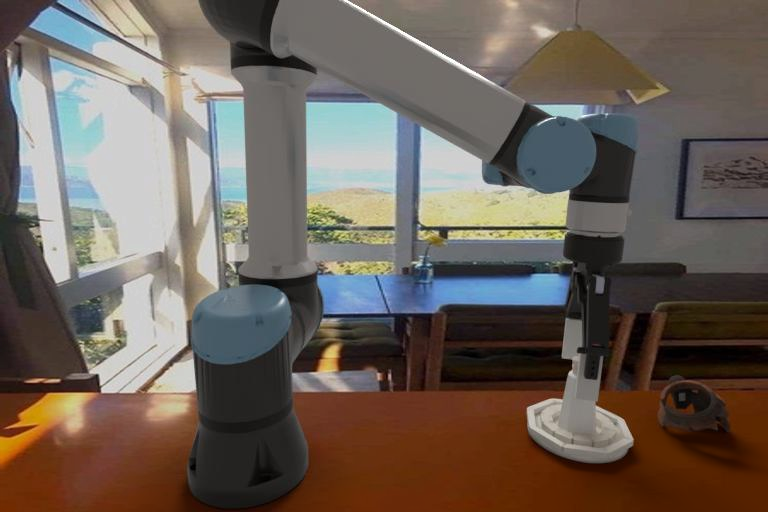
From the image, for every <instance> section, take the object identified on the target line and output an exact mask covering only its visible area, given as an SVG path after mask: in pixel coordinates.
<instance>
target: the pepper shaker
mask: <svg viewBox="0 0 768 512" xmlns="http://www.w3.org/2000/svg"><path fill="white" fill-rule="evenodd" d="M571 360H572V363H571V364H572V365H571V366H572V369H571V370H570V371H569V372H568V374H567V377H566V382H565V387H564V392H563V396H562V399H563V401H562V406H561V411H560V416H559V421H558V426H559V427H560V428H561V429H563V430H566V431H568V432H571V433H574V434H580V435H594V434H595V430H596V406H597V405H596V402H597V401H589V400H582V399H576V398H575V389H576V381H577V372H578V364H579V356H574V357H573V358H572V359H571Z"/></svg>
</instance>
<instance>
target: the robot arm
mask: <svg viewBox="0 0 768 512" xmlns="http://www.w3.org/2000/svg"><path fill="white" fill-rule="evenodd" d="M198 4H199V7H200V10H201V12H202V14H203V16H204V17H205V19H206V20H207V22H208V24H209V25H210V27H212V28H213V30H214V31H215V32H216V33H217V35H220V36H221V37H222V38H223V39H225V40H226V41H228V42H229V50H230V51H229V53H230V57H229V59H230V60H229V61H230V73H231V74H230V75H232V77H233V78H234V79H235V80H236V81H237V82H238V83H239V84H240V85H241V87H242V90H243V91H242V92H243V93H242V96H243V120H244V121H243V123H244V124H243V125H244V150H245V151H244V153H245V155H244V156H245V181H246V182H245V183H246V184H245V185H246V189H245V190H246V213H247V214H246V215H247V217H246V218H247V241H248V242H247V245H248V247H247V248H248V256H247V258H246V260H245V261H244V262H243V263H242V264H240V266H239V267H238V269H237V271H238V272H237V274H238V285H236V286H235V285H234V286H231V287H228V288H227V289H225V290H224V289H221V290H217V291H214V292H212V293H210V294H209V295H207V296H206V297H204V298H203V299H202V300H201V301H199V302H198V303H197V304H196V306H195V307H194V309H193V311H192V315H191V331H190V344H191V345H190V346H191V347H192V348H191V349H192V358H193V370H194V379H195V381H194V382H195V393H196V403H197V417H198V423H197V428H196V431H195V435H194V439H193V443H192V445H191V446H192V447H191V449H190V452H189V453H190V454H189V457H188V461H187V465H186V466H187V471H186V472H187V482H188V483H187V484H188V489H189V490H190V493H191V494H192V495H193V497H194V498H195V499H197V500H198V501H200V502H201V503H204V504H206V505H208V506H211V507H215V508H217V509H218V508H220V509H229V510H230V509H232V510H233V509H236V510H237V509H247V508H253V507H257V506H260V505H264V504H267V503H269V502H272V501H275V500H276V499H279V498H281V497H283V496H284V495H286V494H288V493H289V492H291V490H293V489H294V488H295V487H296V486H297V485H299V483H300V482H301V481H302V480H303V479H304V477H305V475H306V473H307V471H308V468H309V445H308V441H307V439H306V437H305V435H304V431H303V429H302V427H301V425H300V421H299V420H298V416H297V414H296V411H295V409H294V396H293V395H294V394H293V393H294V392H293V391H294V390H293V363H294V362H295V361H296V359H297V358H298V357H299V355H300V353H301V352H302V350H303V349H304V348H305V347H306V346H307V344H308V343H309V341H310V340H311V339H312V338H313V337H314V336H315V335H316V333H317V332H318V331H319V328H320V327H321V323H322V321H323V318H324V313H325V299H324V294H323V291H322V290H321V287H320V286H319V284H318V266H317V265H316V264H315V262H313V260H312V259H310V258H309V256H308V189H307V188H308V187H307V186H308V183H307V182H308V181H307V180H308V179H307V177H308V174H307V173H308V172H307V171H308V168H307V165H308V163H307V160H308V159H307V158H308V157H307V156H308V155H307V154H308V153H307V91H308V89H310V87H311V86H312V85H313V84H314V83H315V81H317V79H318V71H321V72H323V73H324V74H327V76H328V75H329V76H330V77H332V78H333V79H335V80H337V81H339V82H341V83H343V84H344V85H346V86H348V87H350V88H352V90H353V89H354V90H355V91H357V92H359V93H361V94H362V95H364V96H366V97H368V98H369V99H371V100H374V101H375V102H377V103H378V104H380V105H381V106H384V107H386V108H388V109H389V110H391V111H393V112H395V113H396V114H398V115H400V116H402V117H404V118H405V119H407V120H409V121H411V122H413V123H415V124H416V125H418V126H419V127H421V128H424V129H425V130H427V131H429V132H431V133H433V134H435V135H436V136H437V137H440V138H442V139H443V140H445V141H447V142H449V143H450V144H452V145H454V146H456V147H458V148H459V149H461V150H463V151H465V152H466V153H469V154H470V155H472V156H474V157H476V158H477V159H480V160H481V177H482V180H483V182H484V183H485V184H486V185H496V186H501V187H505V188H506V187H509V186H510V187H522V188H523V187H524V188H527V189H533V190H535V192H536V191H537V193H541V194H546V195H551V194H552V195H553V194H556V193H563V192H567V191H569V193H568V199H567V206H566V207H567V208H566V217H565V225H564V226H565V227H566V228H567V229H569V231H566V233H564V239H563V240H564V241H563V249H562V251H563V252H562V255H563V257H564V259H566V260H568V261H569V262H570V261H571V262H572V267H571V268H572V269H571V273H570V274H571V275H570V279H569V283H568V289H567V293H566V299H565V302H564V303H565V304H564V310H565V316H566V318H565V321H564V322H565V324H564V333H563V343H562V350H561V359H566V360H572V358H573V357H574V356H579V364H578V372H577V381H576V389H575V398H576V399H582V400H589V401H595V402H598V400H599V394H600V392H599V391H600V386H601V385H600V384H601V378H602V370H603V362H604V357H606V358H608V357H609V355H610V354H611V353H610V351H611V350H610V293H611V285H612V278H611V277H609V276H608V277H607V276H605V268H606V266H614V265H618V264H620V263H621V262H622V261H623V255H624V248H625V247H624V246H625V238H624V236H622V235H620V234H623V232H625V231H626V227H627V222H628V221H627V220H628V219H627V218H628V217H632V216H633V215H632V214H633V210H632V209H630V208H629V204H630V203H629V202H630V200H631V199H630V195H631V189H632V182H633V176H634V169H635V164H636V163H635V162H636V156H637V154H638V142H639V141H638V137H639V131H638V130H639V123H638V120H637V118H635V117H634V116H633V115H631V114H626V113H625V114H623V113H591V114H585V115H584V114H583V115H581V116H579V117H578V118H577V119H575V118H571V117H567V116H561V115H555V116H554V115H552V114H550V113H548V112H546V111H544V110H543V109H541V108H539V107H537V106H536V105H534V104H531V103H529V102H528V101H526V100H525V99H523V98H521V97H519V96H518V95H516V94H514V93H512V92H511V91H509V90H508V89H505V88H503V87H502V86H500V85H498V84H496V83H495V82H493V81H491V80H489V79H488V78H485V77H484V76H482V75H480V74H479V73H478V72H477V73H476V72H475V71H474V70H471V69H470V68H467V67H466V66H464V65H463V64H460V63H459V62H457V61H455V60H454V59H452V58H450V57H448V56H446V55H444V54H442V53H441V52H439V51H438V50H436V49H434V48H433V47H430V46H429V45H427V44H425V43H424V42H422V41H420V40H419V39H416V38H415V37H413V36H411V35H409V34H408V33H406V32H403V31H402V30H400V29H399V28H397V27H395V26H393V25H391V24H389V23H388V22H386V21H384V20H382V19H381V18H379V17H377V16H376V15H374V14H371V12H367V11H366V10H365V9H364V8H361V7H359V5H358V6H357V5H356V4H353V3H352V1H351V2H350V1H349V0H198Z"/></svg>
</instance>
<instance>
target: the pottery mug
mask: <svg viewBox="0 0 768 512" xmlns="http://www.w3.org/2000/svg"><path fill="white" fill-rule="evenodd" d="M668 382H669V383H668V385H667V386H665V387H664V388H663V390H662V391H661V392H660V396H659V398H660V399H659V400H660V401H659V410H658V412H657V418H658V419H657V420H658V422H659V424H660V426H661V427H662V428H663V427H665V426H666V427H667V426H668V427H670V428H673V429H677V430H681V431H685V432H691V431H692V430H693V431H696V432H697V431H702V430H706V429H711V430H714V431H719V428H718V423H719V424H720V425H721V426H722V427H723V428H724V430H725V432H726V433H728V434H730V431H731V427H732V424H731V422H730V419H729V415H730V414H729V410H727V409H726V406H727V404H726V402H725V400H724V399H723V398H722V397H721V396H719V394H717V393H716V392H715V391H714V390H713V389H712V388H710V387H709V386H708V385H706V384H704V383H703V382H700V381H696V380H692V379H691V380H690V379H689V380H687V379H686V378H685V377H683V376H682V375H677V374H676V375H673V376H671V377H670V378H669V379H668ZM696 391H697V392H696ZM669 395H670V396H671V398H672V402H673V403H672V404H673V405H674V408H673V407H672V406H670V405H669V404H667V402H668V401H667V399H668V397H669ZM691 405H692V408H693V413H684V412H680V411H677V410H687V409H688V407H690V406H691ZM675 409H676V410H675Z"/></svg>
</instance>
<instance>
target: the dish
mask: <svg viewBox="0 0 768 512" xmlns="http://www.w3.org/2000/svg"><path fill="white" fill-rule="evenodd" d="M562 401H563V398H562V399H561V398H549V399H546V400H543V401H540V402H537V403H535V404H533V405H530V406H527V408H526V420H527V423H526V424H527V426H526V427H527V432H528V435H529V436H530V438H532V439H533V440H534V442H535V443H537V444H538V445H539V446H541V448H543V449H545V450H547V451H548V452H550V453H552V454H554V455H557V456H559V457H561V458H565V459H568V460H571V461H574V462H575V461H576V462H579V463H580V462H581V463H587V464H605V463H612V462H615V461H618V460H620V459H621V460H622V458H623V457H624V458H625V456H626V455H627V453H628V452H629V448H632V447H633V446H634V442H635V441H634V440H635V439H634V437H633V436H632V433H631V432H630V429H629V427H628V425H627V423H626V421H625V419H623V417H620V416H618V415H617V414H615V413H613V412H610V411H609V410H606V409H603V408H602V407H600V406H598V405H596V430H595V434H594V435H580V434H574V433H571V432H568V431H566V430H563V429H561V428H560V427H559V426H558V421H559V416H560V411H561V406H562Z"/></svg>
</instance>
